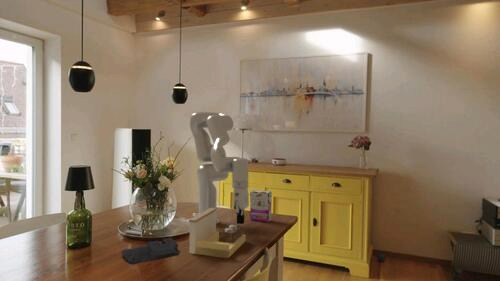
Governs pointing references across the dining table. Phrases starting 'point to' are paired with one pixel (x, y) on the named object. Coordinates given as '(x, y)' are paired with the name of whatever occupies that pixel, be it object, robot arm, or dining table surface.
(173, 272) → the dining table surface
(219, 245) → the counter shelf
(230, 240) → the caddy
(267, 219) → the candy bar box
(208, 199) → the robot arm
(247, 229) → the dining table surface
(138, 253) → the dark slate chunk
